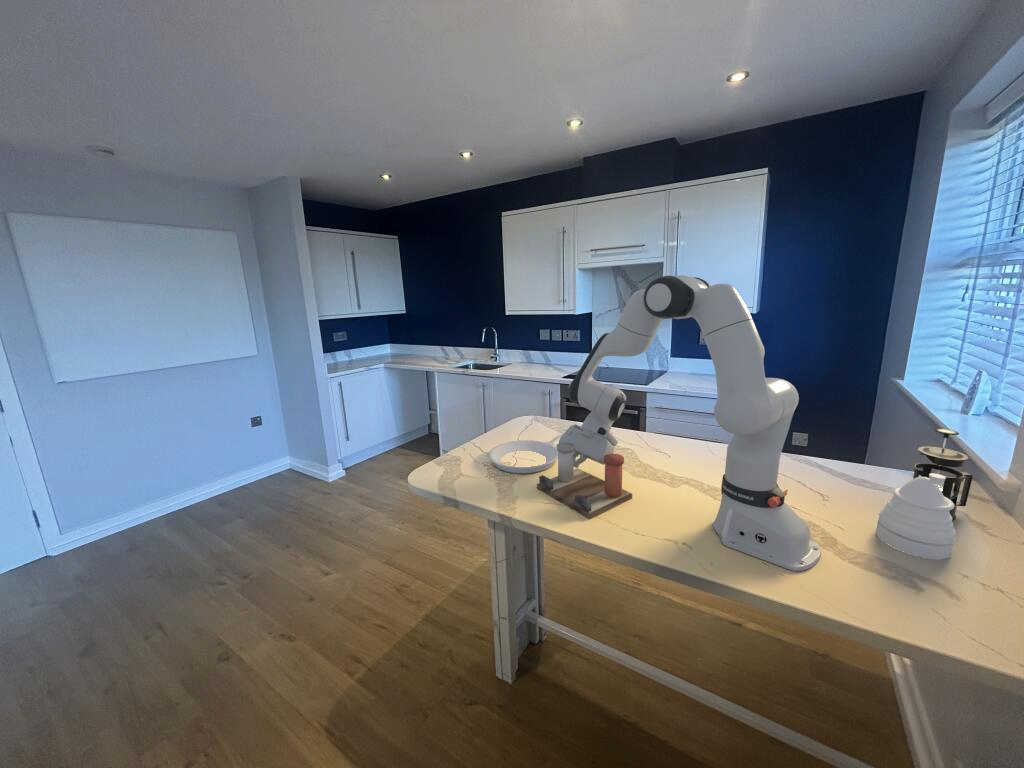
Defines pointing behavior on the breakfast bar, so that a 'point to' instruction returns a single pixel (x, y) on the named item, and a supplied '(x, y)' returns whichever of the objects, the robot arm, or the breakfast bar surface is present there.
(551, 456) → the pan
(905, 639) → the breakfast bar surface
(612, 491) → the red plug
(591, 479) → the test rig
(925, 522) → the honey pot
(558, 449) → the grey plug
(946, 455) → the french press
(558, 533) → the breakfast bar surface
